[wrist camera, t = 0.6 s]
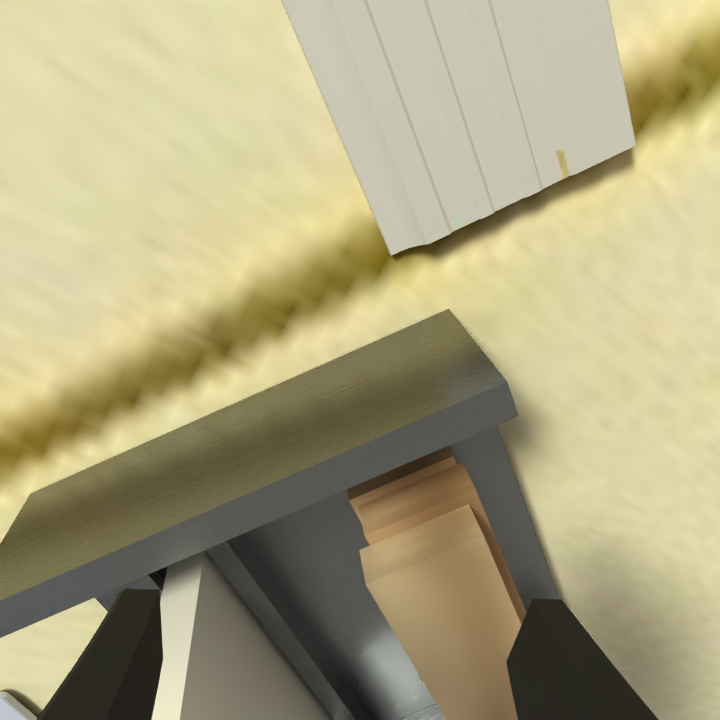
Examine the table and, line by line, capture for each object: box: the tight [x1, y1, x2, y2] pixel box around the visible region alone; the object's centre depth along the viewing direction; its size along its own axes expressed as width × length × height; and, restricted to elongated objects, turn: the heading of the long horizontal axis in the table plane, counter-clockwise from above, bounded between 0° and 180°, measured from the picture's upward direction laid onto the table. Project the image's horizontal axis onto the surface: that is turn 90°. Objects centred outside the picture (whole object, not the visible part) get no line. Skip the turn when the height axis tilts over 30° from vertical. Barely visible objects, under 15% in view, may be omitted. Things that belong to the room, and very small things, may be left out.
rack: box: [0, 309, 559, 720], centre depth 23 cm, size 17×20×6 cm
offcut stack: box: [347, 446, 526, 720], centre depth 22 cm, size 4×12×4 cm, turn 23°
